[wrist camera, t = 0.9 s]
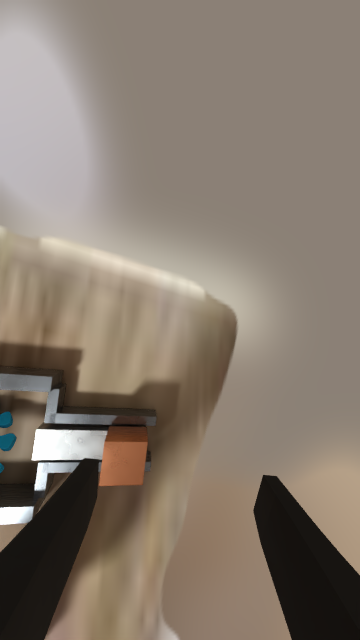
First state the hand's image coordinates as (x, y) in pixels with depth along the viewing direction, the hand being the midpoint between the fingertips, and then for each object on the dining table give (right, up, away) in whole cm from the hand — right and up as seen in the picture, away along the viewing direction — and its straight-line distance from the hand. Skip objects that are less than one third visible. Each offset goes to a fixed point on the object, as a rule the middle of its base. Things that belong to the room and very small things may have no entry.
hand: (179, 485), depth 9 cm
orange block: (-10, -6, +15) cm, 19 cm away
